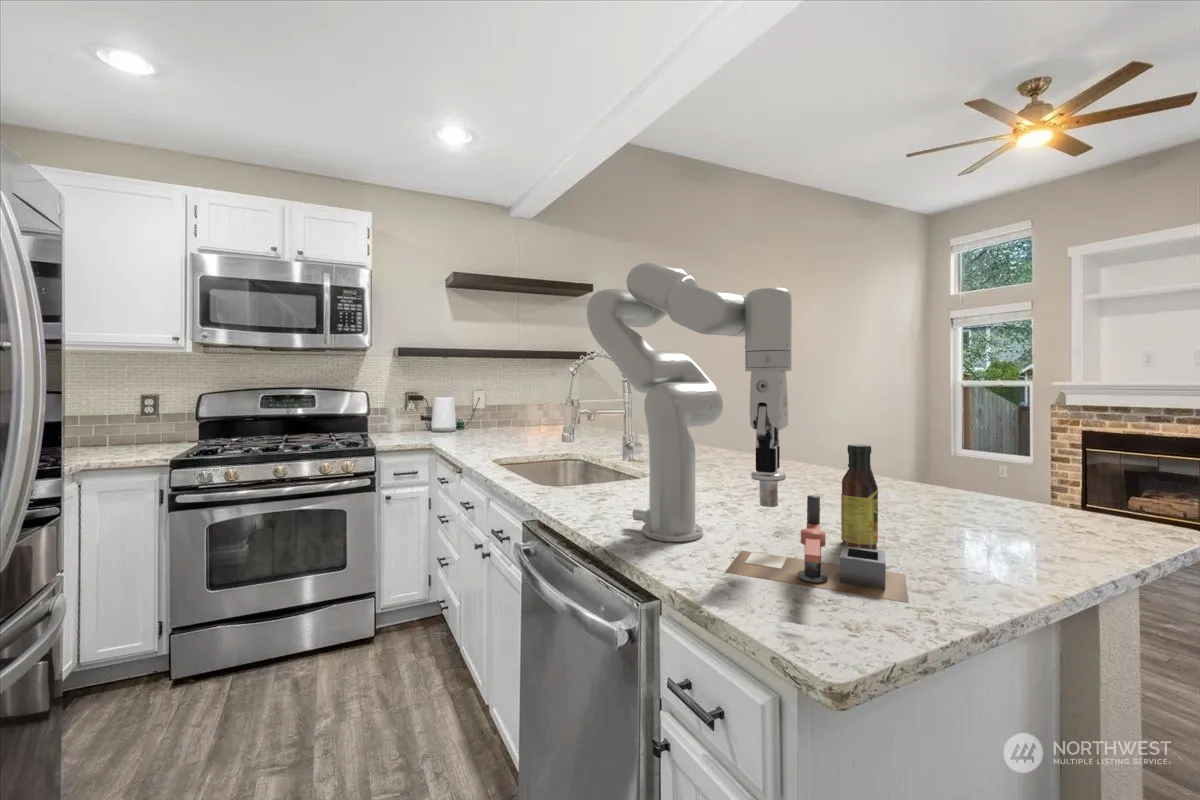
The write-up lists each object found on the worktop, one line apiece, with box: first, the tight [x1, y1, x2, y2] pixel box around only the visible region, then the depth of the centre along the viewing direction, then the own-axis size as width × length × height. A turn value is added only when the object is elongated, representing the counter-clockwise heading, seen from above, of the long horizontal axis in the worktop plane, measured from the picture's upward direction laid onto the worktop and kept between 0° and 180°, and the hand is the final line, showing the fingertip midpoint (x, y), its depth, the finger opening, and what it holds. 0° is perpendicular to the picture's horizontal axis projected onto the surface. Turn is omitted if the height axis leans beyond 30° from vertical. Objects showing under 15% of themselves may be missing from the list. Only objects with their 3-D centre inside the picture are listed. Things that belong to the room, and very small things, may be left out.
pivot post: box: [798, 547, 828, 584], centre depth 84 cm, size 4×4×5 cm
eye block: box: [839, 545, 887, 590], centre depth 83 cm, size 6×6×4 cm
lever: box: [800, 494, 826, 563], centre depth 83 cm, size 18×4×6 cm, turn 158°
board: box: [724, 550, 910, 604], centre depth 86 cm, size 26×12×1 cm, turn 63°
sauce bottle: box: [840, 443, 879, 550], centre depth 100 cm, size 6×6×20 cm
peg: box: [750, 446, 787, 508], centre depth 91 cm, size 6×6×10 cm
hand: (767, 469), depth 91 cm, fingers closed on peg, 3 cm apart
